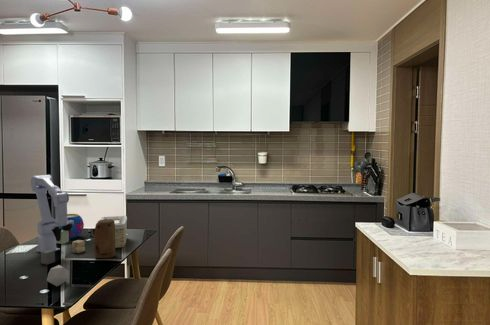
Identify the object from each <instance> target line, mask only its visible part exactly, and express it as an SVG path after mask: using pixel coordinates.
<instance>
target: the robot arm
mask: <svg viewBox="0 0 490 325" xmlns="http://www.w3.org/2000/svg"><path fill="white" fill-rule="evenodd" d="M30 186H31V189H32V192H35V195H36V199H37V203H38V204H37V205H38V209H39V213H40V217H41V220H40V221H39V222H38V223H37V233H38V238H37V250H36V252H39V253H41V252H42V251H46V250H55V252H56V251H59V250H61V248H59V247H57V243H56V241H60V239H61V230H62V229H60V228H59V227H62V228H63V230H66V231H69V232H70V230H71V228H72V225H70V224H74V220H69V221H67V214H68V203H69V200H70V197H69V196H70V195H69V194H68V192H67V191H62V189H61V188H60V187H59V186H58V185H55V184H54V182H53V178H52V175H51V174H41V175H32V176H31V177H30ZM47 191H48V192H47ZM47 193H48V194H49V195H50V197H51V198H52V201H53V207H54V210H55V211H54V212H55V218H53V217H52V214H51V209H50V206H49V201H48V198H47Z"/></svg>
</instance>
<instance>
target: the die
mask: <svg viewBox="0 0 490 325" xmlns="http://www.w3.org/2000/svg"><path fill="white" fill-rule="evenodd" d="M69 273H70V271H69V269H67V268H65V267H64V266H62V265H60V264H58V265H56V266H54V267H51V268H50V270H49V272H48V274H47V278H46V282H48V283H50V284H52V285H53V286H55V287H59V286H60V285H63V284H65V283H66V282H67V280H68V277H69ZM64 282H65V283H64Z"/></svg>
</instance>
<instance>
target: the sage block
mask: <svg viewBox="0 0 490 325" xmlns="http://www.w3.org/2000/svg"><path fill="white" fill-rule="evenodd" d="M69 242H70V239H69V231H66V230H61V239H60V241H56V244H62V245H63V244H66V243H69Z"/></svg>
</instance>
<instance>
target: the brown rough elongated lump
mask: <svg viewBox="0 0 490 325" xmlns="http://www.w3.org/2000/svg"><path fill="white" fill-rule="evenodd" d="M93 246H94V247H93V249H94V250H93V251H94V257H95V258H97V259H110V258H113V257H115V255H116V248H115V221H114V220H107V219H105V220H100V219H99V220H98V221H97V222H96V224H95V226H94V233H93Z"/></svg>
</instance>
